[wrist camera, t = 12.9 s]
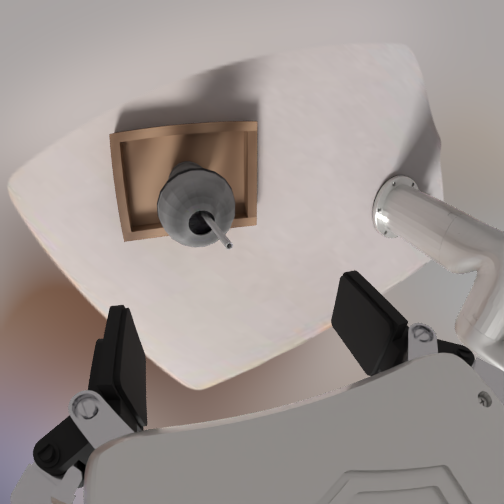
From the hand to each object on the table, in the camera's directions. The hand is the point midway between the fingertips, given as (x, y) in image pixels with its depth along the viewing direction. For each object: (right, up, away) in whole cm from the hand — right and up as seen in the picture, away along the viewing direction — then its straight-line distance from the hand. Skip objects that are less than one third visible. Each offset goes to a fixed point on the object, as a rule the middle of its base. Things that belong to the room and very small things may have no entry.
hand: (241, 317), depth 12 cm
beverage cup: (-8, +12, +23) cm, 27 cm away
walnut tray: (-8, +13, +24) cm, 28 cm away
